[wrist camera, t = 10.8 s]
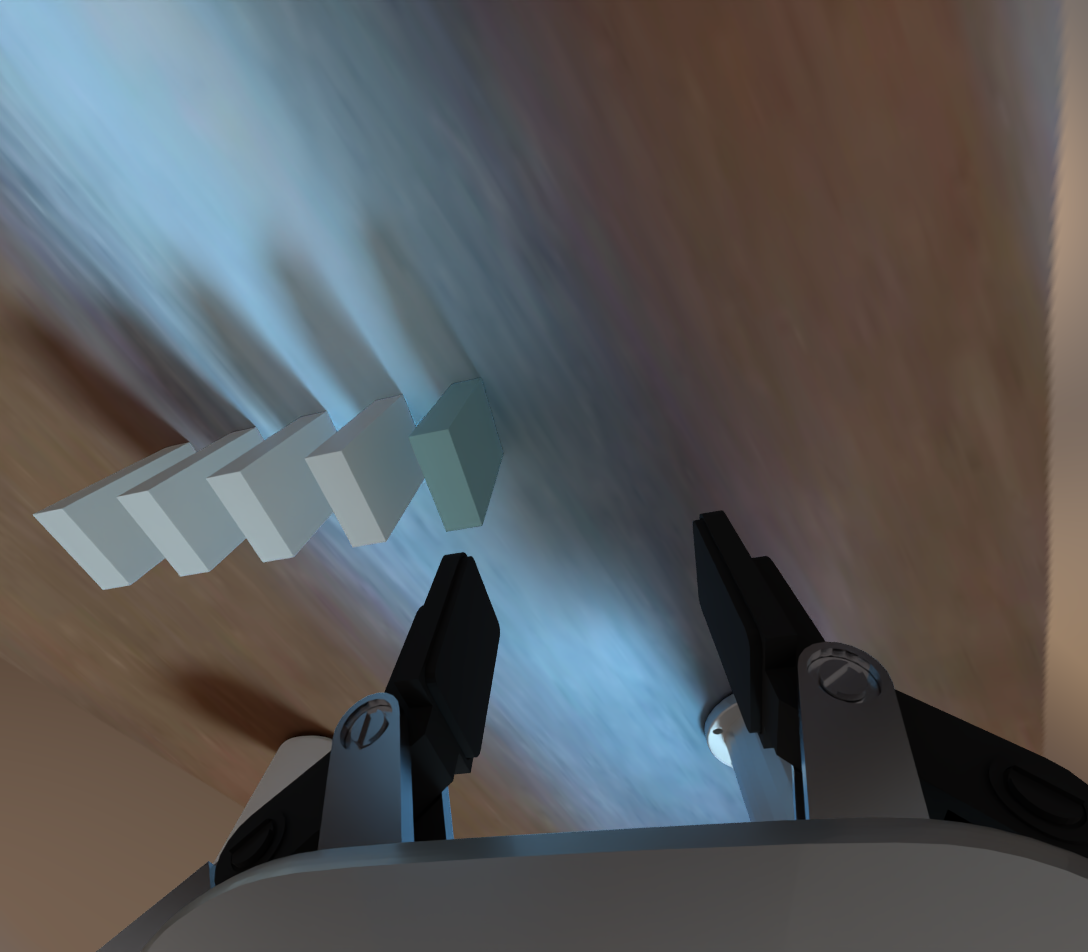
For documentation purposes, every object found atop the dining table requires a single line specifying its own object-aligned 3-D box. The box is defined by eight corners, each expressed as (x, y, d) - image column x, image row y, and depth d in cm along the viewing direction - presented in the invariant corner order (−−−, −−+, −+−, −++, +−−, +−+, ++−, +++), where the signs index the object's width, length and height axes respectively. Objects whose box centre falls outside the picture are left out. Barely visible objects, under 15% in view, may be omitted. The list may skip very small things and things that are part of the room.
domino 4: (402, 394, 26) (341, 450, 19) (431, 466, 28) (386, 541, 21) (375, 400, 26) (304, 458, 19) (405, 471, 28) (352, 547, 21)
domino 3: (326, 411, 26) (239, 471, 19) (360, 480, 29) (294, 557, 22) (300, 417, 27) (205, 478, 20) (336, 485, 29) (262, 562, 22)
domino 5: (481, 377, 25) (448, 429, 18) (503, 453, 27) (482, 525, 20) (452, 383, 25) (408, 437, 18) (476, 458, 27) (446, 531, 20)
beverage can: (268, 733, 43) (172, 890, 33) (340, 726, 42) (265, 886, 32) (305, 776, 47) (230, 930, 36) (372, 771, 46) (315, 927, 35)
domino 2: (256, 427, 27) (148, 490, 20) (294, 493, 29) (209, 571, 22) (231, 432, 27) (116, 497, 20) (271, 497, 30) (180, 576, 23)
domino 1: (189, 441, 28) (62, 508, 21) (232, 505, 30) (130, 585, 23) (166, 447, 28) (32, 514, 21) (210, 509, 30) (103, 589, 23)
